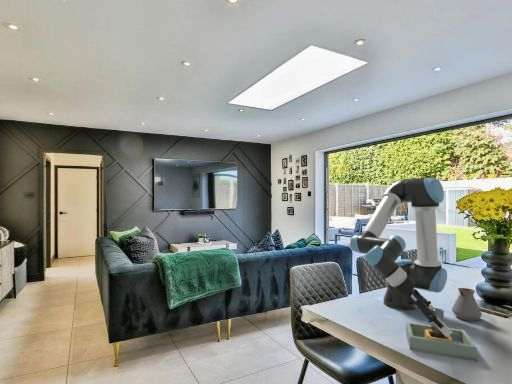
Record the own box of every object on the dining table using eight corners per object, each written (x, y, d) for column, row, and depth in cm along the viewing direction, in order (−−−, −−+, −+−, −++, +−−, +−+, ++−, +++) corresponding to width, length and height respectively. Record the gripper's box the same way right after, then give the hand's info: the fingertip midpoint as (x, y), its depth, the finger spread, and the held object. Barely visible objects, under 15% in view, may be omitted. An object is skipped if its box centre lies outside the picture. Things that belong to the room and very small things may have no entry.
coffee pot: (454, 311, 150) (454, 280, 151) (483, 317, 143) (483, 285, 143) (445, 323, 134) (445, 289, 135) (477, 331, 127) (477, 294, 127)
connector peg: (430, 339, 116) (430, 307, 116) (442, 341, 114) (442, 309, 115) (432, 344, 112) (432, 311, 113) (445, 346, 111) (444, 312, 111)
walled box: (406, 333, 124) (406, 321, 124) (464, 342, 116) (464, 330, 117) (409, 349, 110) (409, 336, 110) (476, 361, 102) (476, 347, 103)
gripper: (391, 279, 131) (431, 321, 125) (394, 296, 108) (443, 347, 102) (405, 268, 129) (446, 309, 123) (411, 282, 106) (462, 334, 100)
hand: (445, 327), depth 112 cm, fingers open, 13 cm apart
